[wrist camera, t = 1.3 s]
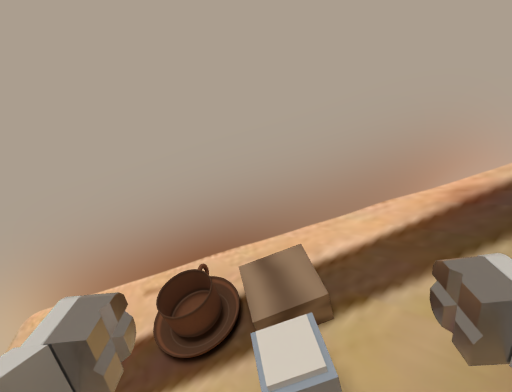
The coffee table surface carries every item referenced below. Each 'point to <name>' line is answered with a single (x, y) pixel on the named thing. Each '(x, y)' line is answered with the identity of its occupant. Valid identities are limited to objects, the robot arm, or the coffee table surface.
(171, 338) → the cup and saucer
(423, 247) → the coffee table surface
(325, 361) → the tall gray box
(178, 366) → the coffee table surface
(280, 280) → the walnut block
